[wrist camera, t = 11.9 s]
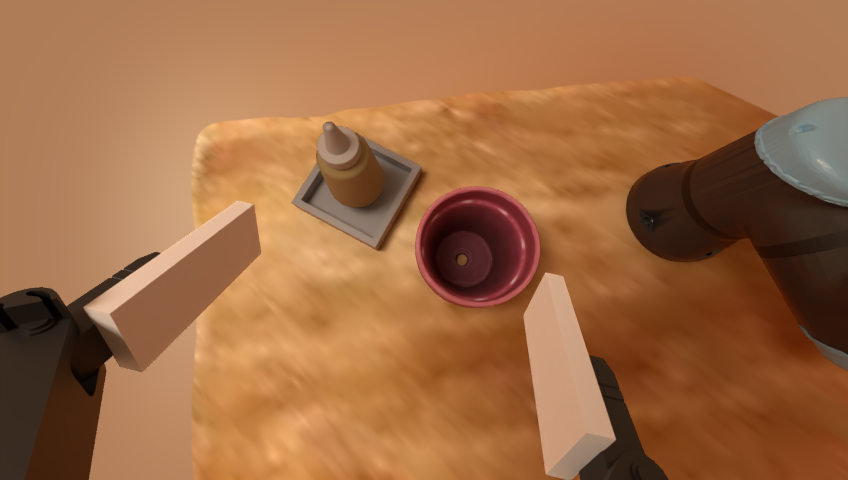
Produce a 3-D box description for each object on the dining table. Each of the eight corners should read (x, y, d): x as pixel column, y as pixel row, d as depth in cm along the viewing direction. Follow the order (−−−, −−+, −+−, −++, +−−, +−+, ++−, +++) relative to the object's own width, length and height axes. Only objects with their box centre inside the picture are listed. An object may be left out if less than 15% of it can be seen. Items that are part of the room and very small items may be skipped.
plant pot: (486, 200, 50) (508, 166, 38) (525, 283, 48) (564, 277, 35) (401, 235, 49) (395, 212, 36) (438, 322, 47) (445, 329, 34)
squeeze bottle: (398, 191, 49) (386, 129, 32) (358, 225, 48) (323, 181, 31) (363, 155, 50) (334, 76, 33) (323, 187, 49) (271, 124, 32)
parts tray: (421, 174, 51) (421, 166, 48) (377, 250, 48) (375, 247, 45) (345, 135, 52) (340, 125, 49) (298, 208, 49) (291, 202, 47)
